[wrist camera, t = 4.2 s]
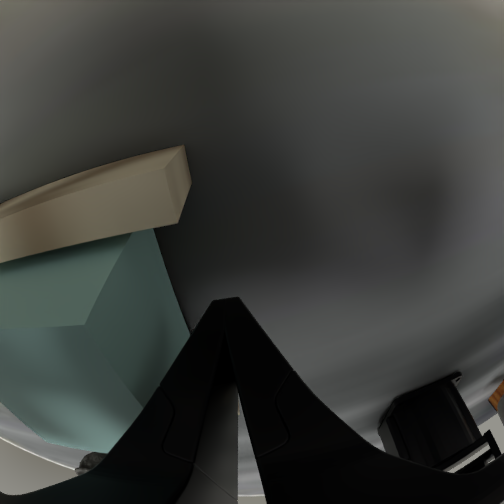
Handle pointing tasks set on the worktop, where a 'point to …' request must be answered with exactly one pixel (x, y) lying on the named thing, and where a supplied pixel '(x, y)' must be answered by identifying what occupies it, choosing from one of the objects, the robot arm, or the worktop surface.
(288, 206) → the worktop surface
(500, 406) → the mug
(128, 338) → the block
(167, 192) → the chute
